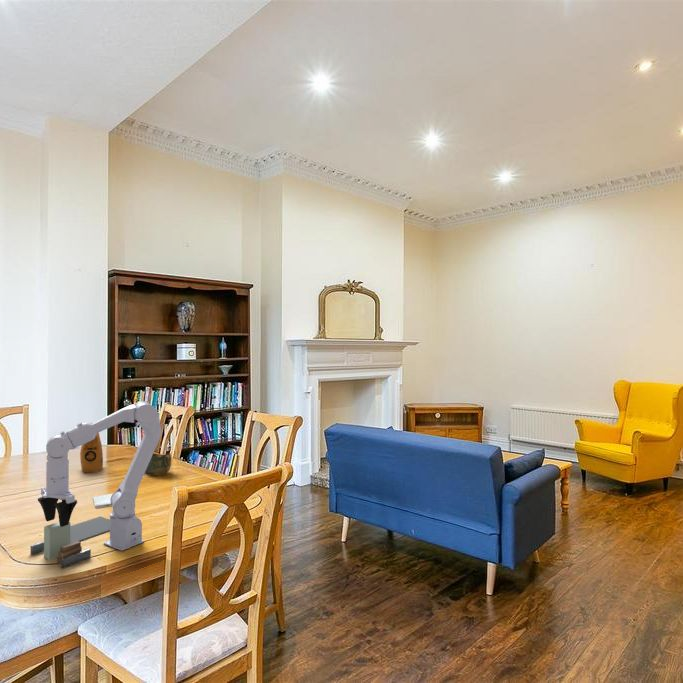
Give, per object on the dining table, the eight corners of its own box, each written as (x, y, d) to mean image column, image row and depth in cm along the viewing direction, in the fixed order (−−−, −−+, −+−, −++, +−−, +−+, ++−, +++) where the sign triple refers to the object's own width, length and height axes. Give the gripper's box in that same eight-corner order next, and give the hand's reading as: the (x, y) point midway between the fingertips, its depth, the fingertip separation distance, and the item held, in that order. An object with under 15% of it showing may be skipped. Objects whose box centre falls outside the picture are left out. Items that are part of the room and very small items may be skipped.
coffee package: (78, 474, 230) (78, 427, 230) (81, 467, 242) (81, 422, 242) (101, 471, 234) (102, 425, 234) (103, 465, 245) (103, 421, 245)
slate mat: (124, 525, 168) (124, 524, 168) (72, 544, 152) (72, 542, 152) (100, 517, 175) (100, 516, 175) (48, 534, 160) (48, 533, 160)
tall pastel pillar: (70, 552, 147) (70, 522, 147) (49, 559, 142) (49, 528, 142) (64, 549, 148) (64, 520, 148) (43, 557, 143) (44, 526, 143)
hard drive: (92, 496, 195) (95, 505, 184) (115, 493, 199) (119, 501, 188) (92, 500, 195) (95, 509, 184) (115, 497, 199) (119, 506, 188)
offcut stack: (82, 557, 143) (83, 541, 143) (62, 565, 138) (62, 548, 138) (78, 555, 144) (78, 539, 144) (57, 563, 139) (57, 546, 139)
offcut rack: (90, 557, 143) (90, 549, 143) (62, 568, 136) (62, 559, 136) (58, 544, 152) (58, 536, 152) (30, 553, 145) (30, 545, 145)
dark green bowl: (142, 480, 221) (142, 457, 221) (139, 469, 239) (140, 449, 239) (172, 477, 226) (172, 455, 226) (167, 467, 244) (168, 447, 244)
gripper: (30, 476, 145) (30, 522, 145) (57, 484, 138) (56, 532, 138) (54, 470, 151) (54, 514, 151) (81, 478, 144) (81, 524, 144)
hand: (57, 522), depth 145 cm, fingers open, 7 cm apart
